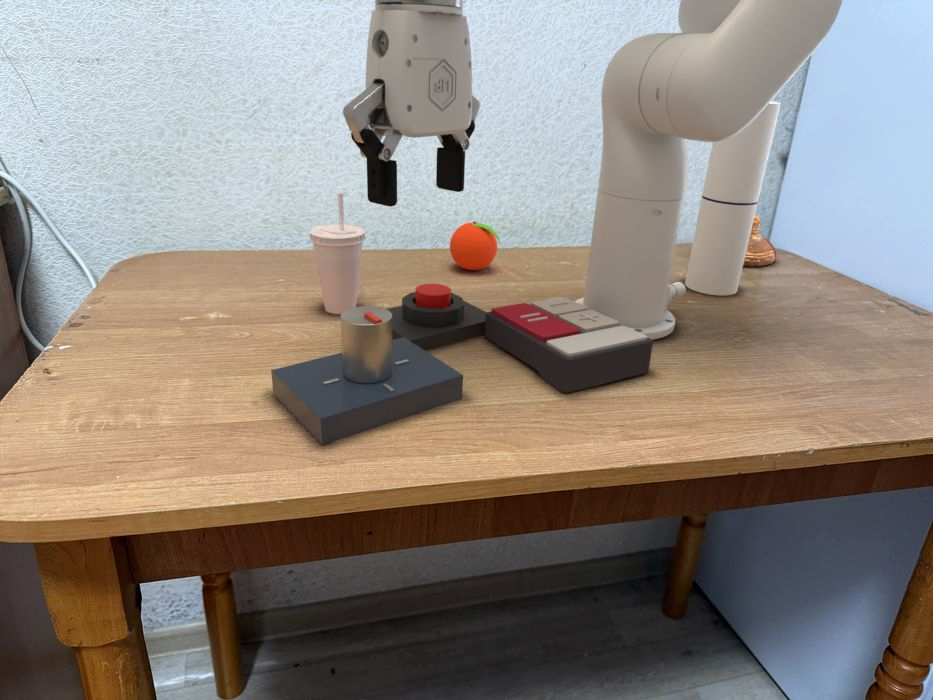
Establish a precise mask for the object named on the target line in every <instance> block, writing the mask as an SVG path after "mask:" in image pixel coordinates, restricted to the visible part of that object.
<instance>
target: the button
mask: <svg viewBox="0 0 933 700" xmlns="http://www.w3.org/2000/svg"><path fill="white" fill-rule="evenodd" d="M414 292H415V304H417V305H418V306H421V307H426V308H443V307H448V306H450V305H451V293H452V288H451V287H449V286H448V285H445V284H443V283H423V284H419V285H417V286H416V287H415V291H414Z"/></svg>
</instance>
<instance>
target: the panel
mask: <svg viewBox="0 0 933 700" xmlns="http://www.w3.org/2000/svg"><path fill="white" fill-rule="evenodd" d="M270 372H271V382H272V395H273V396H274V397H275V398H276V399H277V400H278V402H280V403H281V404H282V405H283V406H284V408H286V409H287V410H288V412H290V414H291V415H292V416H294V418H296V420H297V421H298V422H300V424H301V425H302V426H303V427H304V428H305V429H306V430H307V431H308V432H309V433H310V434H311V435H312V436H313V437H314V438H315V440H317V441H318V443H319V444H320V445H321V446H325V445H327V444H330V443H334V442H335V441H338V440H342V439H345V438H347V437H352V436H354V435H356V434H361V433H363V432H366V431H369V430H372V429H374V428H377V427H381V426H384V425H387V424H390V423H393V422H396V421H398V420H403V419H406V418H408V417H412V416H414V415H417V414H420V413H423V412H426V411H429V410H432V409H435V408H439V407H441V406H445V405H447V404H450V403H453V402H457V401H459V400H462V399H463V386H464V384H463V383H464V374H462V373H461V372H459V371H458V370H456V369H455V368H453V367H451V366H449V365H448V364H447V363H445V362H444V361H442V360H440V359H439V358H438V357H436V356H434V355H432V354H431V353H430V352H428V351H427V350H423V349H422V348H420V347H419V346H417V345H415V344H414V343H412V342H411V341H409V340H408V339H406V338H404V337H403V338H399V339H395V340H392V374H391V376H390V377H389V378H387V379H385V380H383V381H380V382H375V383H358V382H354V381H351V380H349V379H347V378H346V377H345V376H344V375H343V362H342V352H339V353H333V354H330V355H326V356H322V357H318V358H315V359H310V360H306V361H302V362H298V363H293V364H290V365H286V366H282V367H278V368H275V369H271V370H270Z"/></svg>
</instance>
